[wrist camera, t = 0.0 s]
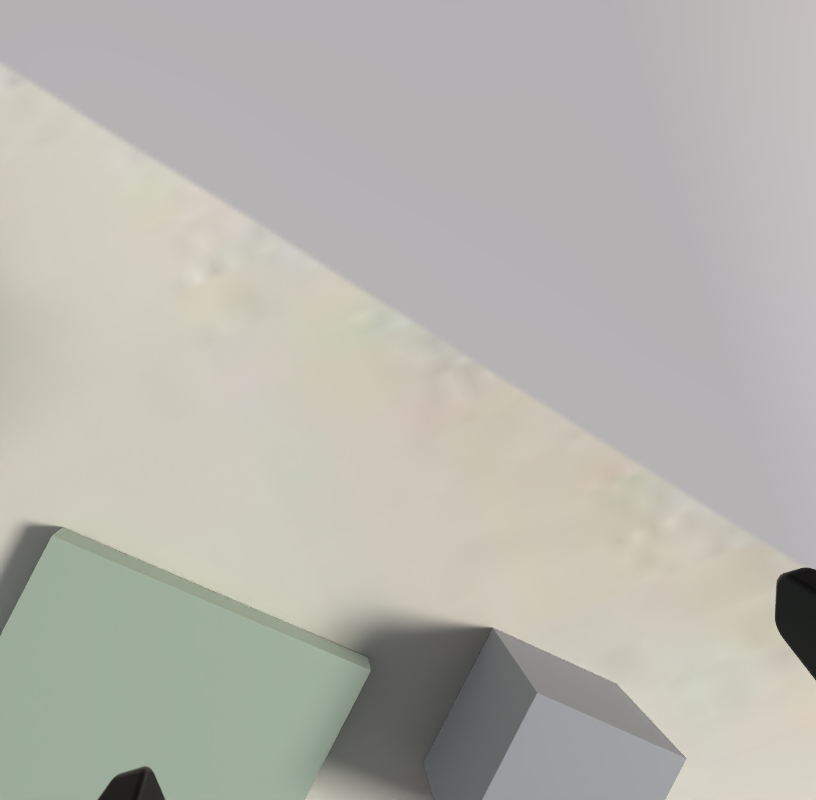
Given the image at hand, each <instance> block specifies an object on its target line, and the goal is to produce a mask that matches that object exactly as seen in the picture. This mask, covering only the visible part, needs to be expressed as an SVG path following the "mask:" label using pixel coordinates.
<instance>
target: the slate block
mask: <svg viewBox="0 0 816 800" xmlns="http://www.w3.org/2000/svg"><path fill="white" fill-rule="evenodd" d="M685 760H686V758H685V756H684V755H683V754H682V753H681V752H680V751H679V750H678V749H677V748H676V747H675V746H674V745H673V744H672V743H671V741H670V740H669V739H668V738H667V737H666V736H665V735H664V734H663V733H662V732H661V731H660V730H659V729H658V728H657V726H656V725H655V724H654V723H653V722H652V721H651V720H650V719H649V718H648V717H647V716H646V715H645V714H644V713H643V712H642V710H641V709H640V708H639V707H638V706H637V705H636V704H635V703H634V702H633V701H632V700H631V699H630V698H629V697H628V695H627V694H626V693H625V692H624V691H623V690H622V689H621V688H620V687H619V686H618V685H617V684H616V683H614V682H612V681H609V680H607V679H605V678H603V677H601V676H598V675H596V674H594V673H592V672H590V671H587V670H585V669H583V668H581V667H579V666H576V665H574V664H572V663H570V662H568V661H565V660H563V659H561V658H559V657H557V656H554V655H552V654H550V653H548V652H546V651H543V650H541V649H539V648H537V647H535V646H532V645H530V644H528V643H526V642H524V641H521V640H519V639H517V638H515V637H513V636H510V635H508V634H506V633H504V632H502V631H499V630H497V629H495V628H492V630H491V632H490V634H489V636H488V638H487V640H486V642H485V644H484V646H483V648H482V649H481V651H480V653H479V655H478V657H477V659H476V661H475V663H474V665H473V667H472V669H471V671H470V673H469V675H468V677H467V679H466V680H465V682H464V684H463V686H462V688H461V690H460V692H459V694H458V696H457V698H456V700H455V702H454V704H453V706H452V708H451V710H450V711H449V713H448V715H447V717H446V719H445V721H444V723H443V725H442V727H441V729H440V731H439V733H438V735H437V737H436V739H435V741H434V742H433V744H432V746H431V748H430V750H429V752H428V754H427V756H426V758H425V760H424V762H423V765H424V768H425V772H426V775H427V778H428V782H429V785H430V789H431V792H432V796H433V799H434V800H665V799H666V797H667V795H668V793H669V791H670V789H671V787H672V785H673V784H674V782H675V780H676V778H677V776H678V774H679V772H680V770H681V768H682V766H683V764H684V762H685Z"/></svg>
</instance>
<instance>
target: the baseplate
mask: <svg viewBox="0 0 816 800" xmlns="http://www.w3.org/2000/svg"><path fill="white" fill-rule="evenodd" d="M370 672H371V668H370V663H369V659H368V657H366V656H363V655H361V654H359V653H356V652H354V651H352V650H349V649H347V648H345V647H342V646H340V645H338V644H335V643H333V642H331V641H328V640H326V639H324V638H321V637H319V636H316V635H314V634H312V633H309V632H307V631H305V630H302V629H300V628H298V627H295V626H293V625H291V624H288V623H286V622H284V621H281V620H279V619H277V618H274V617H272V616H270V615H267V614H265V613H263V612H260V611H258V610H256V609H253V608H251V607H248V606H246V605H244V604H241V603H239V602H237V601H234V600H232V599H230V598H227V597H225V596H223V595H220V594H218V593H216V592H213V591H211V590H209V589H206V588H204V587H202V586H199V585H197V584H195V583H192V582H190V581H187V580H185V579H183V578H180V577H178V576H176V575H173V574H171V573H169V572H166V571H164V570H162V569H159V568H157V567H155V566H152V565H150V564H148V563H145V562H143V561H141V560H138V559H136V558H134V557H131V556H129V555H126V554H124V553H122V552H119V551H117V550H115V549H112V548H110V547H108V546H105V545H103V544H101V543H98V542H96V541H94V540H91V539H89V538H87V537H84V536H82V535H80V534H77V533H75V532H73V531H70V530H68V529H66V528H63V527H62V528H61V529H60V530H58V531H57V532H56V533H55V534H53V535H52V536H51V538H50V540H49V542H48V544H47V546H46V548H45V550H44V552H43V554H42V556H41V557H40V559H39V561H38V563H37V565H36V567H35V569H34V571H33V573H32V575H31V577H30V579H29V581H28V583H27V585H26V587H25V588H24V590H23V592H22V594H21V596H20V598H19V600H18V602H17V604H16V606H15V608H14V610H13V612H12V614H11V616H10V617H9V619H8V621H7V623H6V625H5V627H4V629H3V631H2V633H1V635H0V800H98V798H99V797H100V795H101V794H102V792H103V791H104V790H105V788H106V787H107V785H108V784H109V782H110V781H111V780H112V779H113V778H114V777H115V776H116V775H118V774H120V773H123V772H126V771H129V770H133V769H136V768H139V767H143V766H148V767H150V768H151V769H152V770H153V772H154V774H155V776H156V779H157V781H158V783H159V786H160V788H161V790H162V793H163V795H164V797H165V800H305V798H306V796H307V794H308V792H309V790H310V788H311V786H312V784H313V782H314V780H315V778H316V776H317V774H318V772H319V771H320V769H321V767H322V765H323V763H324V761H325V759H326V757H327V755H328V753H329V751H330V749H331V747H332V745H333V743H334V741H335V740H336V738H337V736H338V734H339V732H340V730H341V728H342V726H343V724H344V722H345V720H346V718H347V716H348V714H349V712H350V710H351V709H352V707H353V705H354V703H355V701H356V699H357V697H358V695H359V693H360V691H361V689H362V687H363V685H364V683H365V681H366V679H367V678H368V676H369V674H370Z"/></svg>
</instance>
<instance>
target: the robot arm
mask: <svg viewBox="0 0 816 800" xmlns="http://www.w3.org/2000/svg"><path fill="white" fill-rule="evenodd" d="M775 622H776V626H777V628H778V631H779V632H780V634H781V636H782V637H783V639H784V640H785V641H786V643H787V644H788V645H789V646H790V648H791V649H792V650H793V652H794V653H795V654H796V655H797V657H798V658H799V659H800V661H801V662H802V663H803V665H804V666H805V667H806V668H807V670H808V671H809V672H810V674H811V675H812V676H813V677H814V679H815V680H816V570H815V569H811V568H800V569H796V570H793V571H790V572H786V573H783V574H782V575H780V576H779V578H778V580H777V585H776V605H775ZM98 800H165V797H164V795H163V793H162V790H161V788H160V786H159V783H158V781H157V779H156V776H155V774H154V772H153V770H152V769H151V768H150V767H148V766H143V767H139V768H136V769H133V770H129V771H126V772H123V773H120V774H118V775H116V776H115V777H114V778H113V779H112V780H111V781H110V782H109V784H108V785H107V787H106V788H105V790H104V791H103V792H102V794H101V795H100V797H99V798H98Z"/></svg>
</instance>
